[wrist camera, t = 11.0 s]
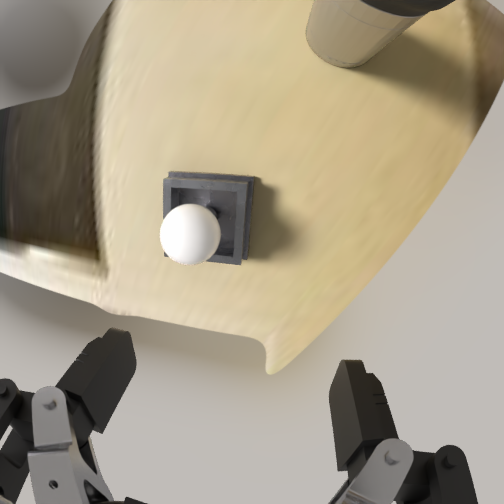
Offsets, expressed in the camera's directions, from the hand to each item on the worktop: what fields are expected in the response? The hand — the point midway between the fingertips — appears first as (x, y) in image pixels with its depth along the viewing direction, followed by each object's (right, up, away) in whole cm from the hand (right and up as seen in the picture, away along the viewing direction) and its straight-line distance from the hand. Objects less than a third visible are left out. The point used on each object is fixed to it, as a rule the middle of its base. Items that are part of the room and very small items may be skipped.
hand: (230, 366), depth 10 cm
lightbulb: (-5, +9, +26) cm, 28 cm away
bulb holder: (-5, +9, +27) cm, 29 cm away
